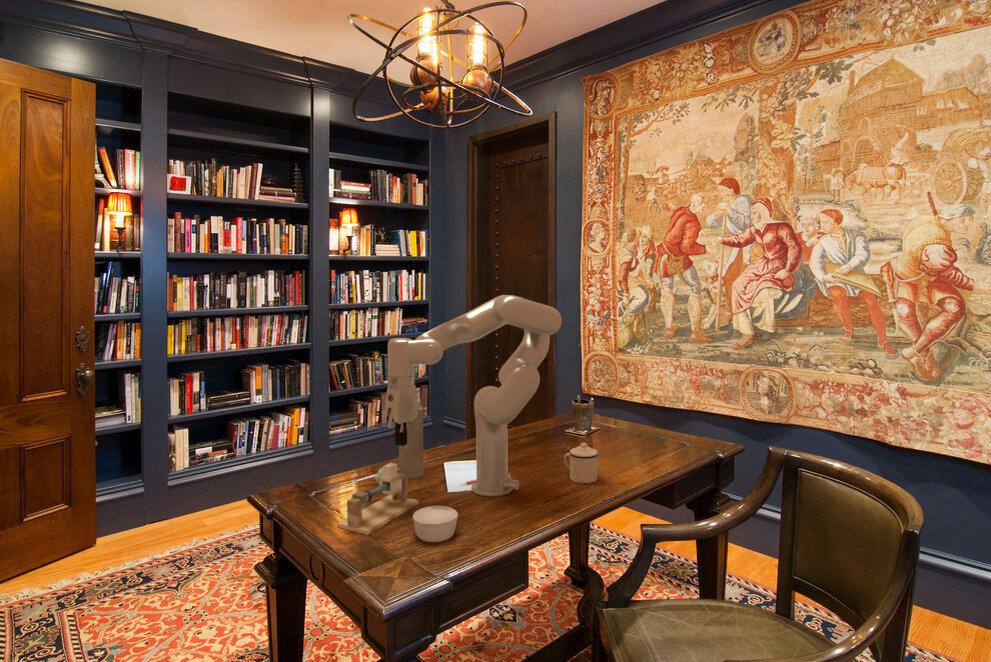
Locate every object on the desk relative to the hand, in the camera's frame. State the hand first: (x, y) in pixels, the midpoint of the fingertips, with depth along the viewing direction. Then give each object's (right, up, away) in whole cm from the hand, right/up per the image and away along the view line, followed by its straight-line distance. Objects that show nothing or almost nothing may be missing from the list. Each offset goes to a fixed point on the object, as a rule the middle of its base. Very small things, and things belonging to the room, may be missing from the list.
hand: (400, 444), depth 157 cm
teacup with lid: (+54, -15, +19) cm, 60 cm away
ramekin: (+12, -19, -20) cm, 30 cm away
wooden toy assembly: (-4, -18, -8) cm, 20 cm away
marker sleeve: (-2, -12, -4) cm, 13 cm away
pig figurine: (-7, -16, +11) cm, 21 cm away
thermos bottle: (-1, -15, +23) cm, 28 cm away
